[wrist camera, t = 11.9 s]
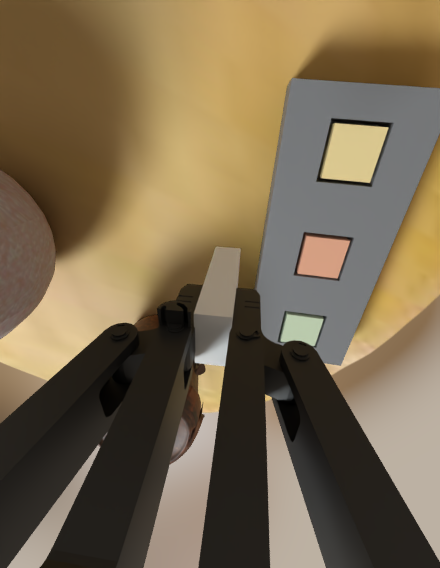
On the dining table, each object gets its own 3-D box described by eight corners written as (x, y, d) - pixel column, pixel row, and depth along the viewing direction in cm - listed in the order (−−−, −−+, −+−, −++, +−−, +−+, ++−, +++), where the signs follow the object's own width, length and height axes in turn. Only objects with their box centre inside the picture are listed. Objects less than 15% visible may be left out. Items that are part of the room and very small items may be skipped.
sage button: (285, 300, 38) (287, 314, 35) (318, 304, 38) (323, 319, 35) (278, 326, 41) (280, 341, 38) (310, 330, 40) (314, 346, 37)
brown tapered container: (179, 394, 54) (148, 499, 38) (96, 338, 49) (21, 432, 33) (240, 351, 46) (231, 461, 30) (148, 279, 41) (81, 366, 26)
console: (287, 86, 27) (291, 78, 23) (428, 96, 26) (458, 89, 22) (247, 332, 44) (246, 351, 40) (333, 344, 43) (340, 365, 39)
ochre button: (326, 124, 27) (335, 123, 24) (374, 128, 27) (388, 127, 24) (314, 173, 30) (321, 178, 27) (358, 178, 29) (369, 182, 26)
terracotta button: (302, 227, 33) (306, 236, 30) (341, 231, 33) (350, 241, 29) (294, 261, 35) (297, 273, 32) (330, 266, 35) (337, 278, 32)
